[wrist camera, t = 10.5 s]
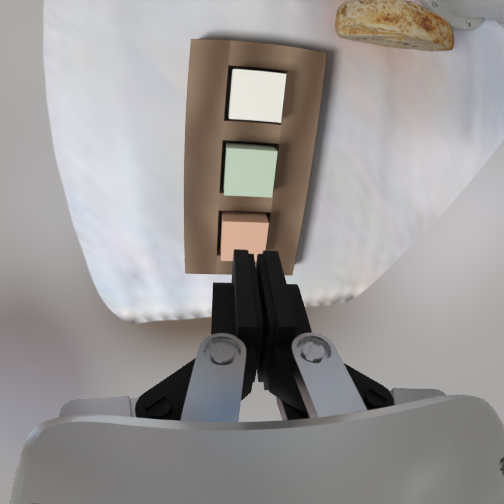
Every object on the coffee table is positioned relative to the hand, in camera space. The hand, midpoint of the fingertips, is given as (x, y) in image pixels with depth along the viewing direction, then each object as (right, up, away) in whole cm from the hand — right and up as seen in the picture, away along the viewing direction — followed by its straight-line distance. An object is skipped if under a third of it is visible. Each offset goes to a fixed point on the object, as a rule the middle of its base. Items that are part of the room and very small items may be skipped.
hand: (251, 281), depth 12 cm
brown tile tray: (0, +10, +18) cm, 20 cm away
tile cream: (0, +15, +13) cm, 20 cm away
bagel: (+12, +23, +11) cm, 28 cm away
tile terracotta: (-1, +3, +20) cm, 21 cm away
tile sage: (0, +9, +17) cm, 19 cm away
